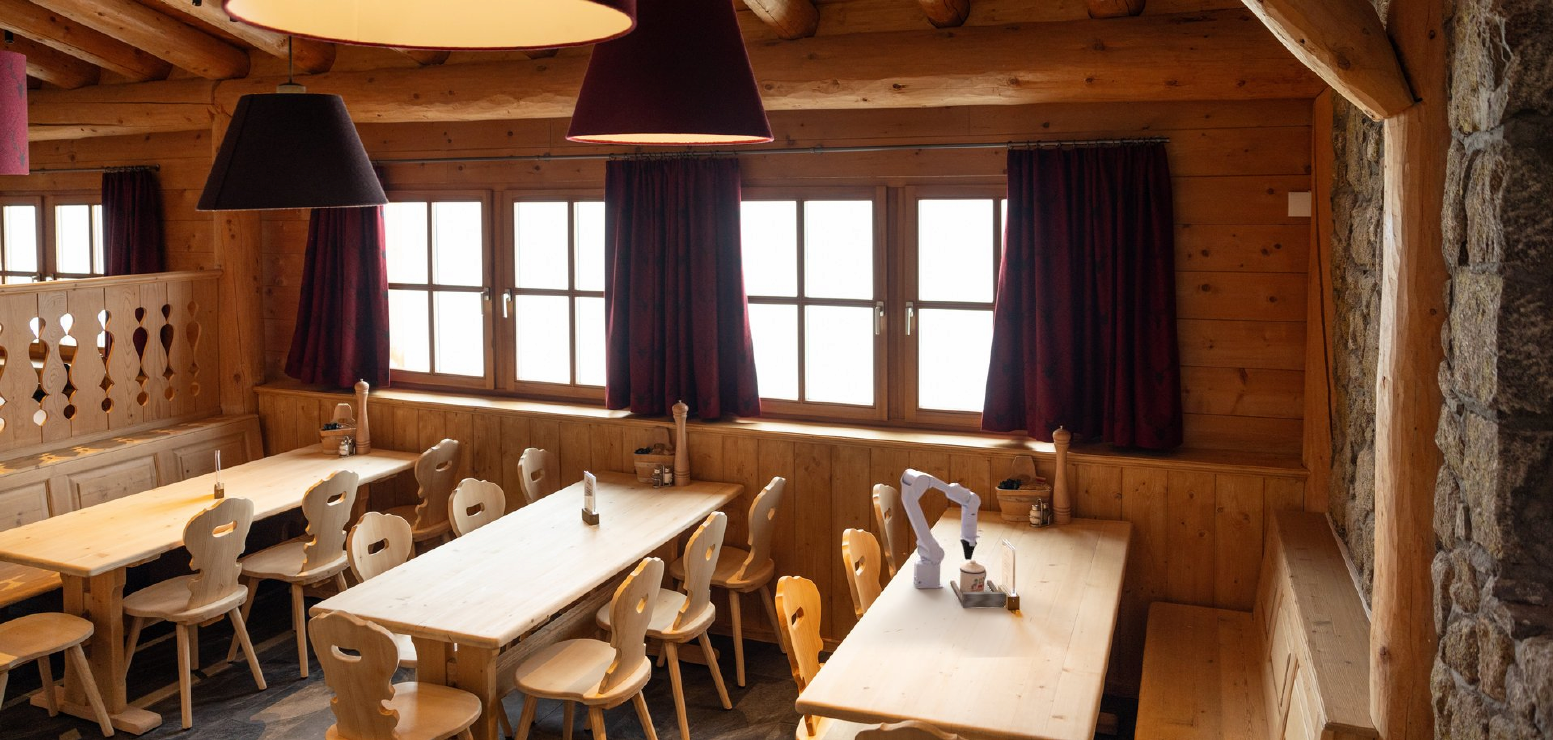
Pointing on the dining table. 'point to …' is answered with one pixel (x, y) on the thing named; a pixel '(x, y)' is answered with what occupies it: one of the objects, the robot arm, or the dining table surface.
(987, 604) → the guide track
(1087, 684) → the dining table surface
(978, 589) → the teacup with lid
